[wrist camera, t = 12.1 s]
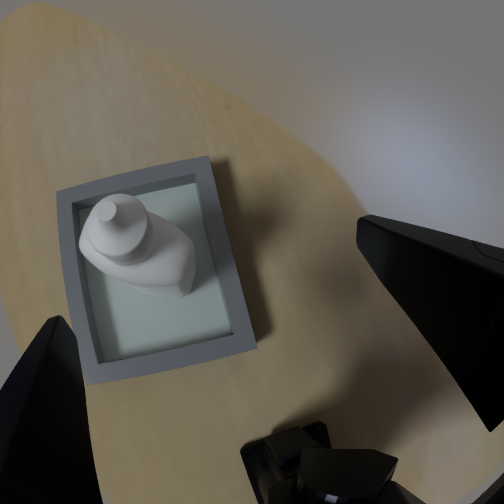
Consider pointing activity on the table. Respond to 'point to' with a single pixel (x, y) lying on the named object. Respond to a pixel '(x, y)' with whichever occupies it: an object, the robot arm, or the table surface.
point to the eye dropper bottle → (138, 247)
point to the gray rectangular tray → (146, 306)
